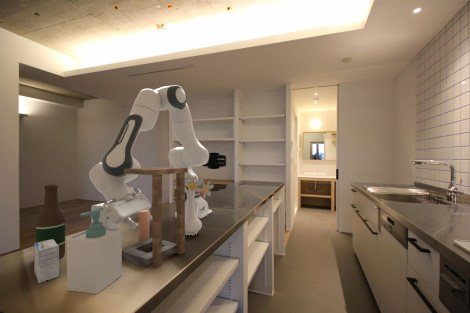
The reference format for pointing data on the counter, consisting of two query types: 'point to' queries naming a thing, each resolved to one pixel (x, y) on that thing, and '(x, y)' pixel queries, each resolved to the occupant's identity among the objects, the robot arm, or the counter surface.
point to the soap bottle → (94, 257)
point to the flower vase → (191, 219)
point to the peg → (143, 225)
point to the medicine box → (46, 260)
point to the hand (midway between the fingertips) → (144, 223)
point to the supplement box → (104, 217)
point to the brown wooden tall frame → (159, 221)
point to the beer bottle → (51, 220)
